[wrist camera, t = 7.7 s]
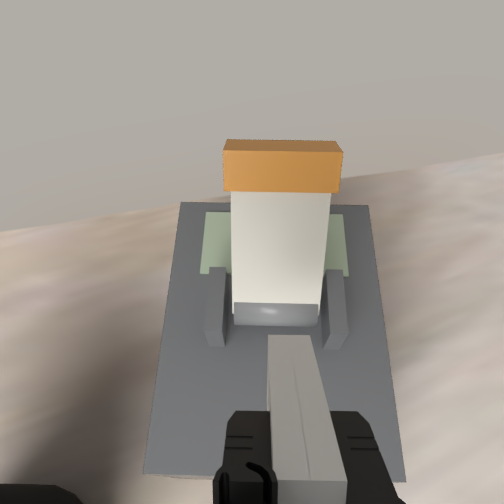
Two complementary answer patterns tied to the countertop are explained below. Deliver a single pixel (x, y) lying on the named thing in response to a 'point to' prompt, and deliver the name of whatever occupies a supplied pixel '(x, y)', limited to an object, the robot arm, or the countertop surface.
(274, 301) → the lever
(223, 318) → the box
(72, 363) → the countertop surface
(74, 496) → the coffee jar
